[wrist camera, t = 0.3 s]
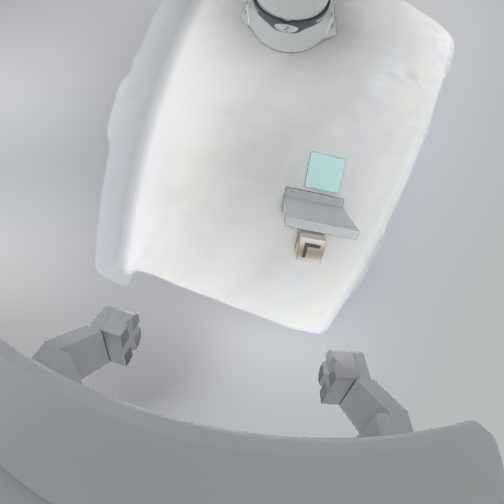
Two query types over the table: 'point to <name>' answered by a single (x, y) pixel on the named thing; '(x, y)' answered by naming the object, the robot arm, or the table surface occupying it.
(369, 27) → the table surface
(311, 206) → the screen
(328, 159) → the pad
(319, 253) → the letter cube
